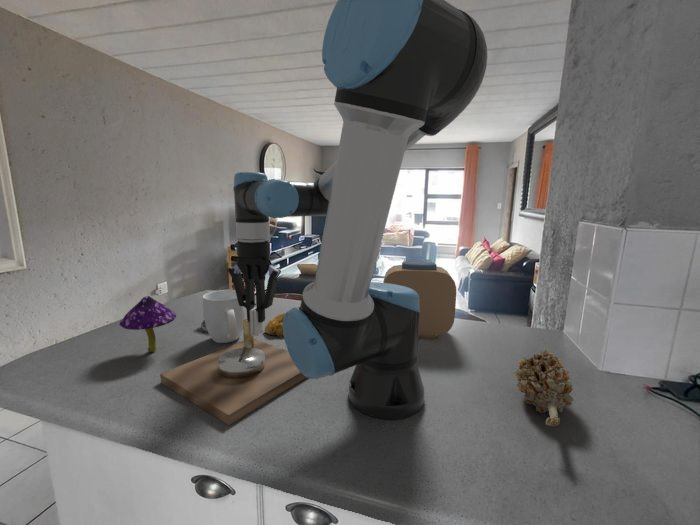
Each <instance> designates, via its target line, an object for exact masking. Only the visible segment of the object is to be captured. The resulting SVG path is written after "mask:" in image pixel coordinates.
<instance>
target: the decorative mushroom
mask: <svg viewBox="0 0 700 525" xmlns="http://www.w3.org/2000/svg"><path fill="white" fill-rule="evenodd" d="M176 318H177V314H176V312H174V311H173V310H172V309H170V308H169V307H168V306H166V305H164V304H163V303H161V302H159V301H158V300H156V299H154V298H153V297H151V296H149V295H144V296H143V297H142V298H141V300H140V301H139V302H137V303H136V304H135V305H134V306H133V307H132V308H130V309H129V311H128V312H127V313H126V314H125V315H124V317H123V318H122V319H121V320H120V322H119V326H120V327H122V328H123V329H126V330H133V331H136V330H137V331H138V330H145V333H146V335H147V340H148V347H147V352H150V353H153V352H156V351H157V344H156V343H157V339H156V334H155V331H154V329H155V328H159V327H162V326H165V325H167V324H170V323H172V322H174V320H175V319H176Z"/></svg>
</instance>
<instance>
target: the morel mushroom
mask: <svg viewBox="0 0 700 525" xmlns="http://www.w3.org/2000/svg"><path fill="white" fill-rule="evenodd" d="M517 362H518V365H517V367H518V368H516V369H517V370H516V371H514V376H515V377H516V380H517V381H518V382H517V383H516V386H517V387H518V391H519V392H521V393H524V394H523V395H524V400H525V401H526V403H527V404H530V405H533V406H535V412H539V414H544V413H546V412H548V415H549V417H547V419H546V420H545V425H546V426H549V427H556V426H559V424H560V423H561V422H560V421H561V417H559V413H558V411H559V412H560V413H562V412H563V408H564V407H566V406H567V407H568V406H571V405H573V403H572V402H574V401H575V399H574V397H573V396H571V395H570V394H571V393H572V391H573V390H574V388H573V383H572V382H570V381H569V380H570V379H571V375H570V373H569V369H567V368H566V369H565V368H564V364H563V361H562V359H560V358H558V357H557V356H556V355H555V354H554V353H552V352H550V351H548V350H543V351H542V350H541V351H540V352H539V353H533V356H531V357H530V358H526V357H524V356H523V357H522V358H520V359H519V361H517Z"/></svg>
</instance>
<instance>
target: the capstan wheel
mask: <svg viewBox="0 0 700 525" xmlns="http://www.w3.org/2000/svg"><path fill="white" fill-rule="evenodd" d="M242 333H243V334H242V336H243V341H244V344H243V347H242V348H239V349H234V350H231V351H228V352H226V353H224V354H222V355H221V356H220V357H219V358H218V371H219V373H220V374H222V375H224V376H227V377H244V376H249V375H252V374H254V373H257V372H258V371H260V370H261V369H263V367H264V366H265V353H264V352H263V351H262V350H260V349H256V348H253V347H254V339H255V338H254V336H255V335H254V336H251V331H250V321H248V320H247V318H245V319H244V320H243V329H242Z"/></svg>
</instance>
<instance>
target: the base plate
mask: <svg viewBox="0 0 700 525" xmlns="http://www.w3.org/2000/svg"><path fill="white" fill-rule="evenodd" d="M243 344H244V340H241V341H239V342H236V343H233V344H231V345H228V346H227V347H224V348H222V349H220V350H217V351H214V352H211V353H208V354H206V355H204V356H202V357H199V358H197V359H194V360H191V361H188V362H186V363H183V364H181V365H179V366H176V367H174V368H172V369H168V370H166V371H164V372H162V373H160V374H159V375H160V377H159V378H160V383H162V384H163V385H165V386H166V387H168V388H169V389H170V390H172V391H174V392H175V393H178V394H179V395H180V396H182V397H184V398H185V399H187V400H189V401H190V402H191V403H193V404H194V405H196V406H198V407H199V408H201V409H202V410H204V411H206V412H207V413H208V414H210V415H212V416H214V417H215V418H217V419H218V420H219V421H221V422H223V423H225V424H226V425H228V426H231V425H232V424H234V423H235V422H237V421H239V420H240V419H242V418H243V417H245V416H247V415H248V414H250V413H251V412H253V411H255V410H257V409H258V408H259V407H262V406H263V405H264V404H266V403H268V402H269V401H271V400H272V399H274V398H276V397H278V396H279V395H281V394H282V393H284V392H285V391H288V388H289V389H290V388H292V387H293V386H295V385H297V384H298V383H300V382H301V381H303V380H305V379H306V378H307V377H306V376H304V375H303V374H302V373H301V372H300V371H299V370H298V369H297V367H296V366H295V364H294V363H293V361H292V359H291V357H290V355H289V352H288V350H287V349H286V350H285V349H283V348H281V347H278V346H275V345H273V344H270V343H267V342H264V341H261V340H258V339H255V338H254V347H253V348H256V349H260V350H262V351H263V352H264V353H265V366H264V367H263V369H261V370H260V371H258V372H257V373H254V374H252V375H249V376H244V377H227V376H224V375H222V374H220V373H219V371H218V358H219V357H220V356H221V355H222V354H224V353H226V352H228V351H231V350H234V349H239V348H242V347H243Z"/></svg>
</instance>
